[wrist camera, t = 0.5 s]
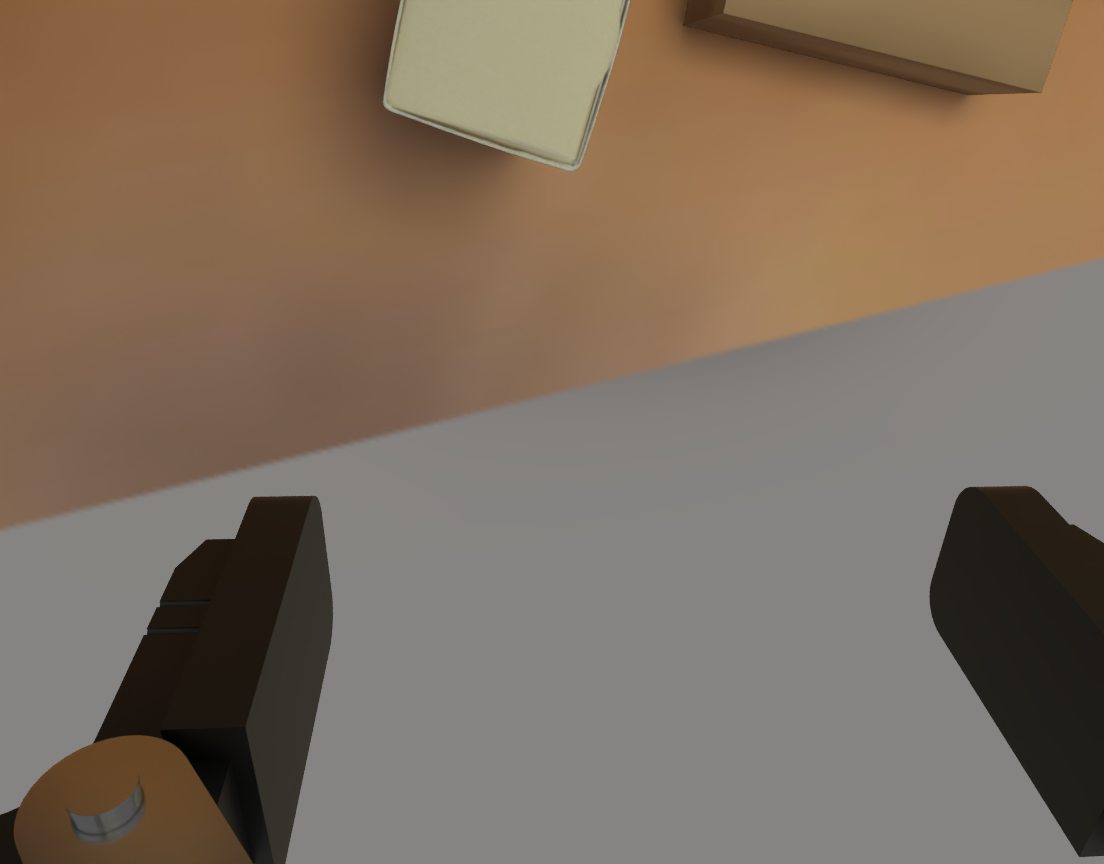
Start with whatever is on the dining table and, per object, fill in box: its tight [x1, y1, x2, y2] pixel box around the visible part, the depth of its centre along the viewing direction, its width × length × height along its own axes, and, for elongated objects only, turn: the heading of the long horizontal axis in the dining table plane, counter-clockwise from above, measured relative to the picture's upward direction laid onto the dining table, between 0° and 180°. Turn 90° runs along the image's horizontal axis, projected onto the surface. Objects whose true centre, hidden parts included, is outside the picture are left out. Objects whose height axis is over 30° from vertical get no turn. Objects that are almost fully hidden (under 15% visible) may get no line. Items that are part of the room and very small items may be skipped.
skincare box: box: [383, 0, 630, 171], centre depth 22 cm, size 5×4×10 cm
